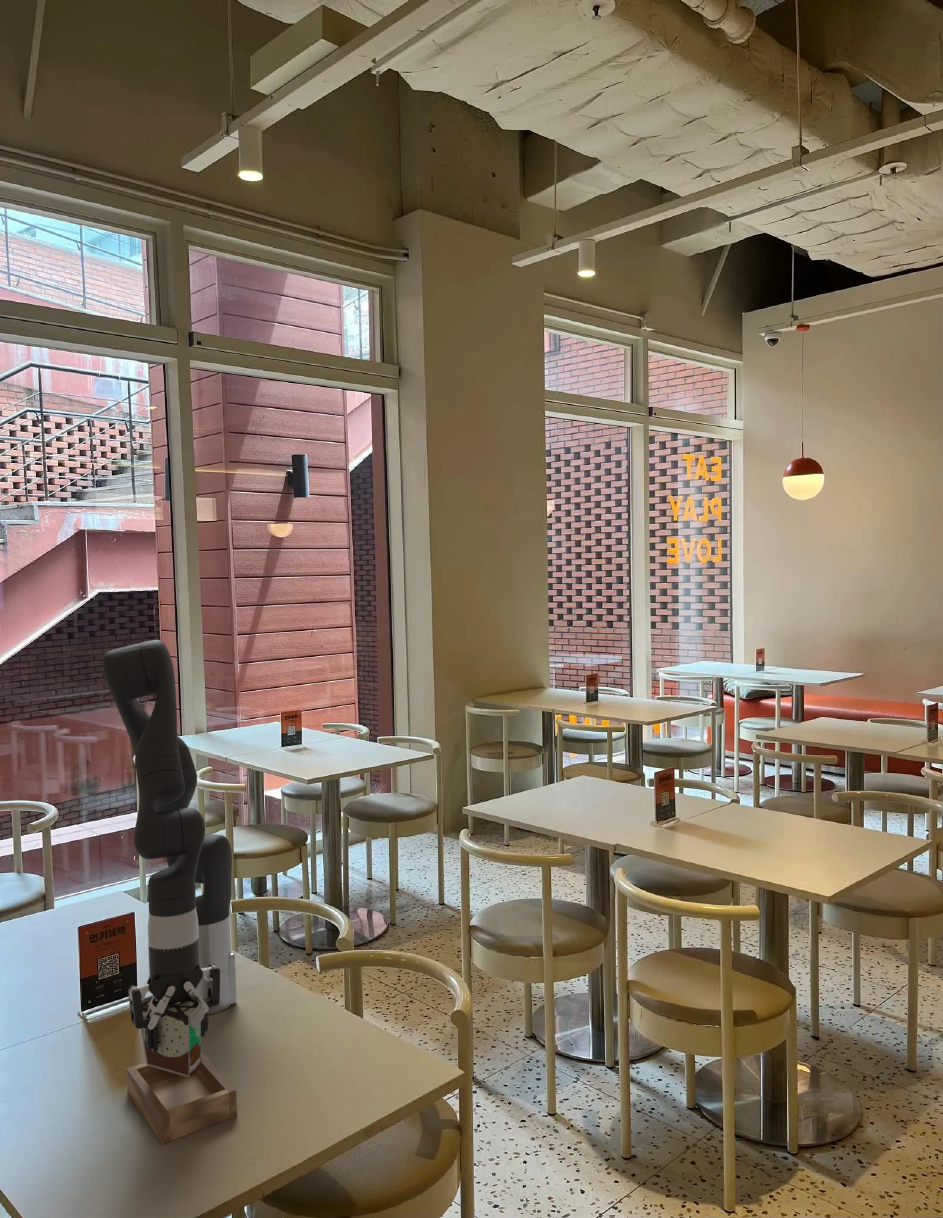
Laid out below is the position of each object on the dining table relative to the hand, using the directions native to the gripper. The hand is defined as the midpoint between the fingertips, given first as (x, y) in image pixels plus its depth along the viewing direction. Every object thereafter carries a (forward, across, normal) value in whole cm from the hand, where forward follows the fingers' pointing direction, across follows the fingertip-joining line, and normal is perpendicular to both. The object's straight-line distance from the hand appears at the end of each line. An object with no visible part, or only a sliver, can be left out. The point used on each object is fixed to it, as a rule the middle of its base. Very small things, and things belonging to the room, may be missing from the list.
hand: (177, 1042), depth 145 cm
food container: (+4, -1, 0) cm, 4 cm away
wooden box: (+10, 0, 0) cm, 10 cm away
